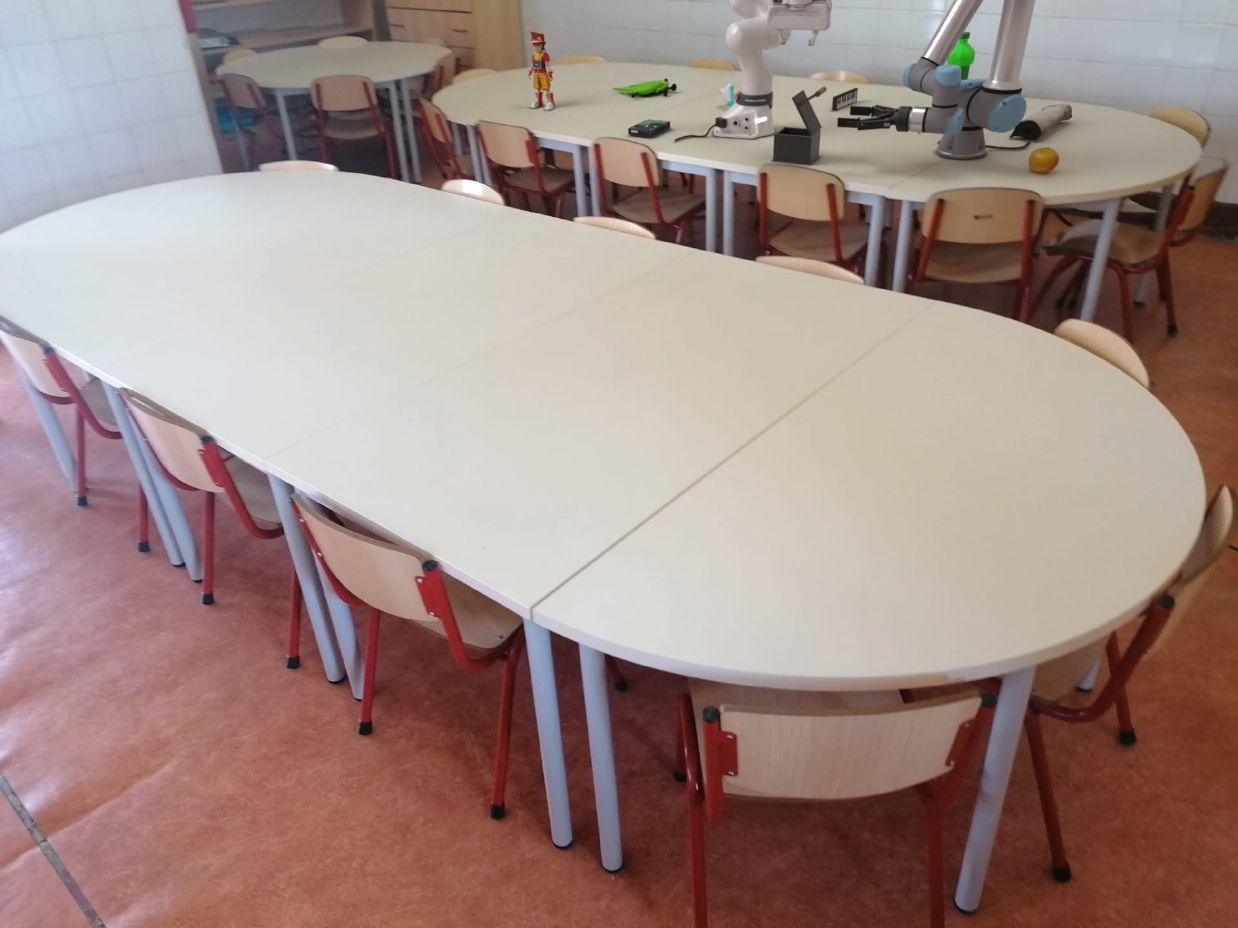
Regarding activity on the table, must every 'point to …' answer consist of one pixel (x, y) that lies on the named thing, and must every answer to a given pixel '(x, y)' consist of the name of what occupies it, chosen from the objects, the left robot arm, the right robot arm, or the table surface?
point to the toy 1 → (541, 71)
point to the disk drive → (649, 128)
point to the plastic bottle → (962, 55)
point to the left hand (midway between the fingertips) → (797, 45)
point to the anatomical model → (729, 94)
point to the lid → (808, 110)
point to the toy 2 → (648, 88)
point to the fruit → (1043, 160)
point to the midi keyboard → (844, 98)
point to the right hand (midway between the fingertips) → (844, 116)
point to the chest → (796, 145)
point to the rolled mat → (1042, 122)
